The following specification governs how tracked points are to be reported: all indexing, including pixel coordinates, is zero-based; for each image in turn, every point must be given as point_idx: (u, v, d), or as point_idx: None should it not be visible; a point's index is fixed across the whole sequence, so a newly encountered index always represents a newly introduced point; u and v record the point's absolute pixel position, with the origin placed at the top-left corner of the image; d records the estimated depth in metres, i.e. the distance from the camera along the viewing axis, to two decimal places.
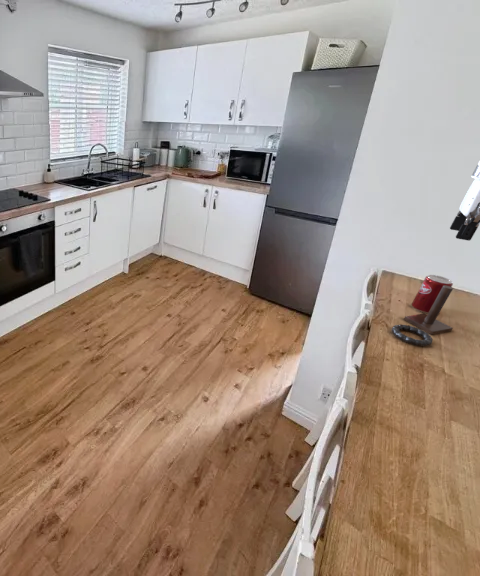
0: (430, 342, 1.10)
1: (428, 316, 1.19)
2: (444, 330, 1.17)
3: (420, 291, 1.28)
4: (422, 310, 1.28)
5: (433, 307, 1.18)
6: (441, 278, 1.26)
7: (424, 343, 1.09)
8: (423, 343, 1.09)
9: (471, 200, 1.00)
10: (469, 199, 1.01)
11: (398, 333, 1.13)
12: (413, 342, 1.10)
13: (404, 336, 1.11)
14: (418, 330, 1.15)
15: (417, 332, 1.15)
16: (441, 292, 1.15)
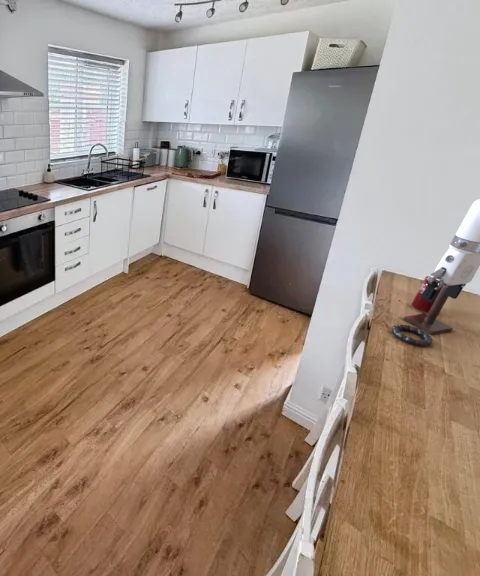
0: (430, 342, 1.10)
1: (428, 316, 1.19)
2: (444, 330, 1.17)
3: (420, 291, 1.28)
4: (422, 310, 1.28)
5: (433, 307, 1.18)
6: None
7: (424, 343, 1.09)
8: (423, 343, 1.09)
9: None
10: None
11: (398, 333, 1.13)
12: (413, 342, 1.10)
13: (404, 336, 1.11)
14: (418, 330, 1.15)
15: (417, 332, 1.15)
16: (441, 292, 1.15)
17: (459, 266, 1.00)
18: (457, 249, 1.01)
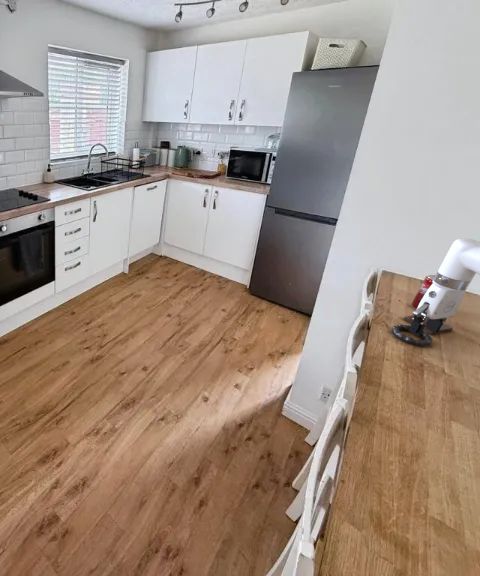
0: (430, 342, 1.10)
1: None
2: (444, 330, 1.17)
3: (420, 291, 1.28)
4: None
5: None
6: None
7: (424, 343, 1.09)
8: (423, 343, 1.09)
9: None
10: None
11: (398, 333, 1.13)
12: (413, 342, 1.10)
13: (404, 336, 1.11)
14: None
15: None
16: None
17: (441, 301, 1.06)
18: (439, 285, 1.06)
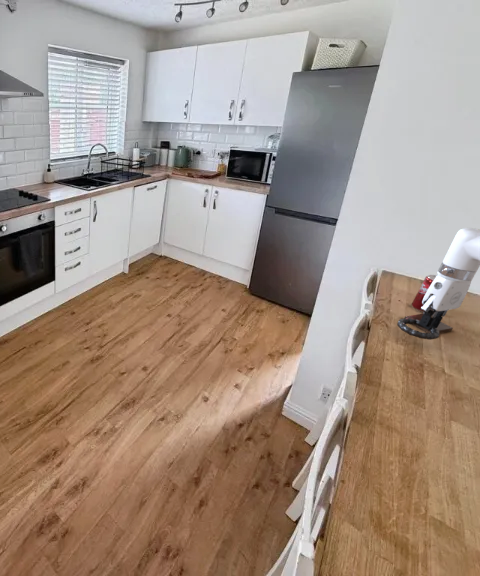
0: (437, 335, 1.08)
1: None
2: (444, 330, 1.17)
3: (420, 291, 1.28)
4: (422, 310, 1.28)
5: None
6: None
7: (430, 336, 1.07)
8: (429, 336, 1.07)
9: None
10: None
11: (404, 326, 1.11)
12: (419, 335, 1.08)
13: (410, 329, 1.10)
14: None
15: None
16: None
17: (447, 292, 1.04)
18: (444, 276, 1.04)
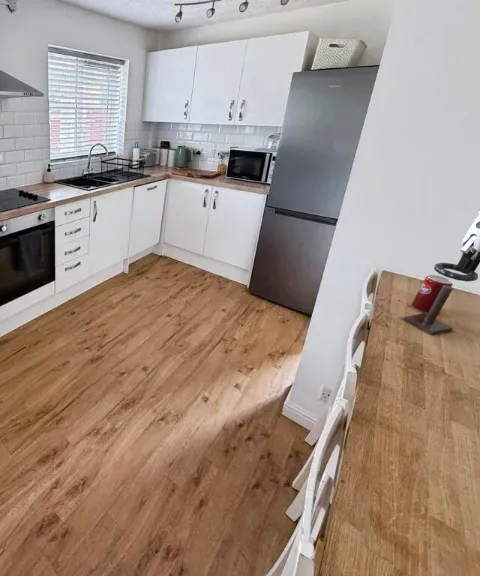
0: (476, 277, 1.07)
1: (428, 316, 1.19)
2: (444, 330, 1.17)
3: (420, 291, 1.28)
4: (422, 310, 1.28)
5: (433, 307, 1.18)
6: (441, 278, 1.26)
7: (470, 278, 1.06)
8: (469, 278, 1.06)
9: None
10: None
11: (442, 269, 1.10)
12: (458, 277, 1.07)
13: (448, 272, 1.09)
14: None
15: None
16: (441, 292, 1.15)
17: None
18: None
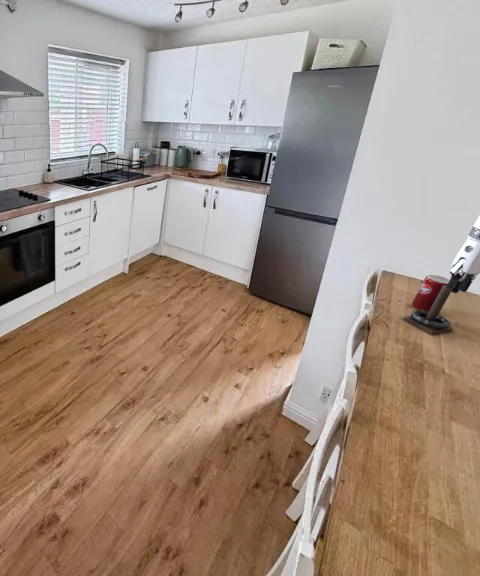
0: (448, 325, 1.16)
1: (428, 316, 1.19)
2: (444, 330, 1.17)
3: (420, 291, 1.28)
4: None
5: (433, 307, 1.18)
6: (441, 278, 1.26)
7: (443, 326, 1.16)
8: (442, 326, 1.16)
9: None
10: None
11: (417, 317, 1.20)
12: (432, 325, 1.16)
13: (423, 319, 1.18)
14: None
15: None
16: (441, 292, 1.15)
17: (478, 255, 1.07)
18: (475, 239, 1.07)
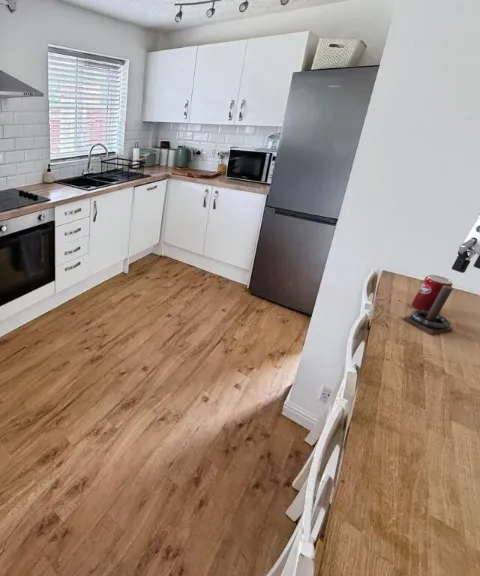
0: (448, 325, 1.16)
1: (428, 316, 1.19)
2: (444, 330, 1.17)
3: (420, 291, 1.28)
4: None
5: (433, 307, 1.18)
6: (441, 278, 1.26)
7: (442, 326, 1.16)
8: (441, 326, 1.16)
9: None
10: None
11: (417, 317, 1.20)
12: (432, 325, 1.16)
13: (423, 320, 1.18)
14: None
15: None
16: (441, 292, 1.15)
17: None
18: None
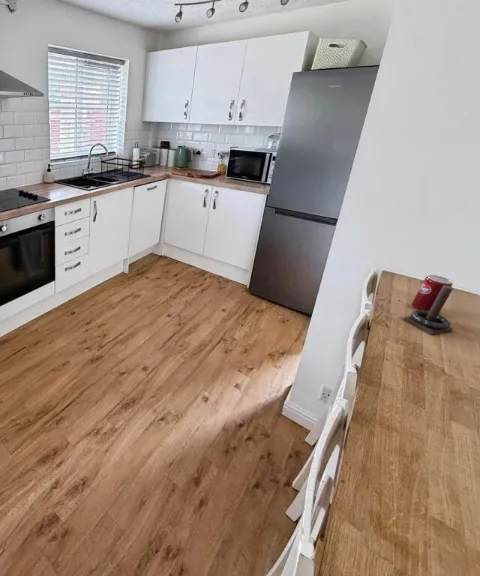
0: (448, 325, 1.16)
1: (428, 316, 1.19)
2: (444, 330, 1.17)
3: (420, 291, 1.28)
4: None
5: (433, 307, 1.18)
6: (441, 278, 1.26)
7: (442, 326, 1.16)
8: (441, 326, 1.16)
9: None
10: None
11: (417, 317, 1.20)
12: (432, 325, 1.16)
13: (423, 320, 1.18)
14: None
15: None
16: (441, 292, 1.15)
17: None
18: None
